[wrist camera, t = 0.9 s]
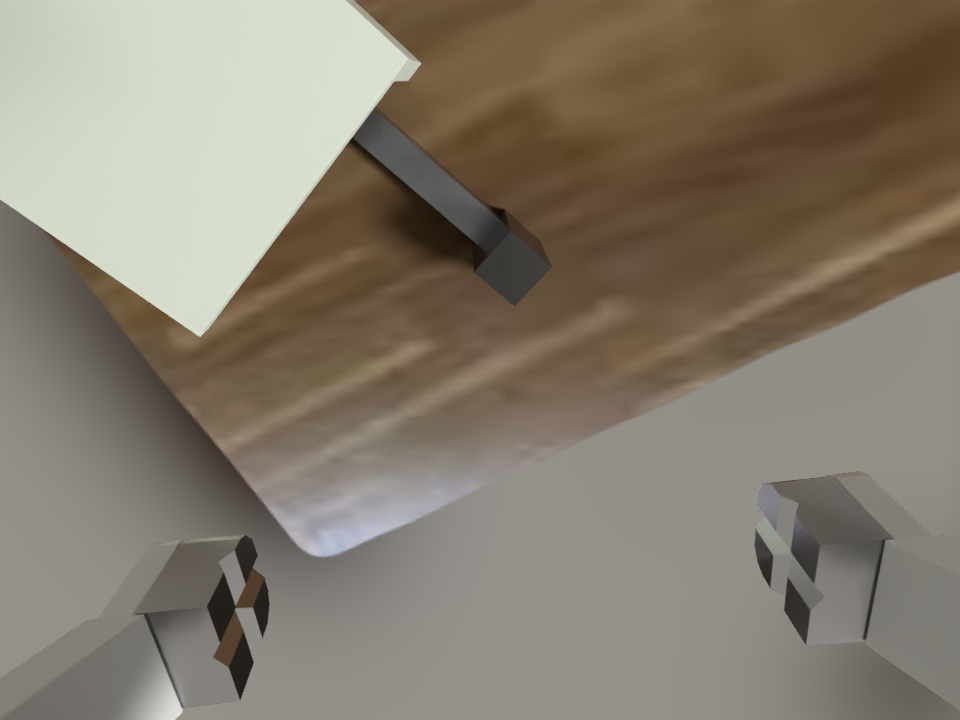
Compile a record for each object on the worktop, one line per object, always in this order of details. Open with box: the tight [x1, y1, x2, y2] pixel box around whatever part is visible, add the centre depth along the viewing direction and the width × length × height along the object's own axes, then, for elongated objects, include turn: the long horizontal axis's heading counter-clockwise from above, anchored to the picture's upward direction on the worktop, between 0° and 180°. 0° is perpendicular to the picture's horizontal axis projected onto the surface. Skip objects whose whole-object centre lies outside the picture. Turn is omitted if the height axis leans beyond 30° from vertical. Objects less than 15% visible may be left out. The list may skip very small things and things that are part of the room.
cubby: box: [0, 0, 421, 337], centre depth 32 cm, size 17×14×9 cm
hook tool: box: [352, 106, 552, 306], centre depth 36 cm, size 8×18×6 cm, turn 49°
